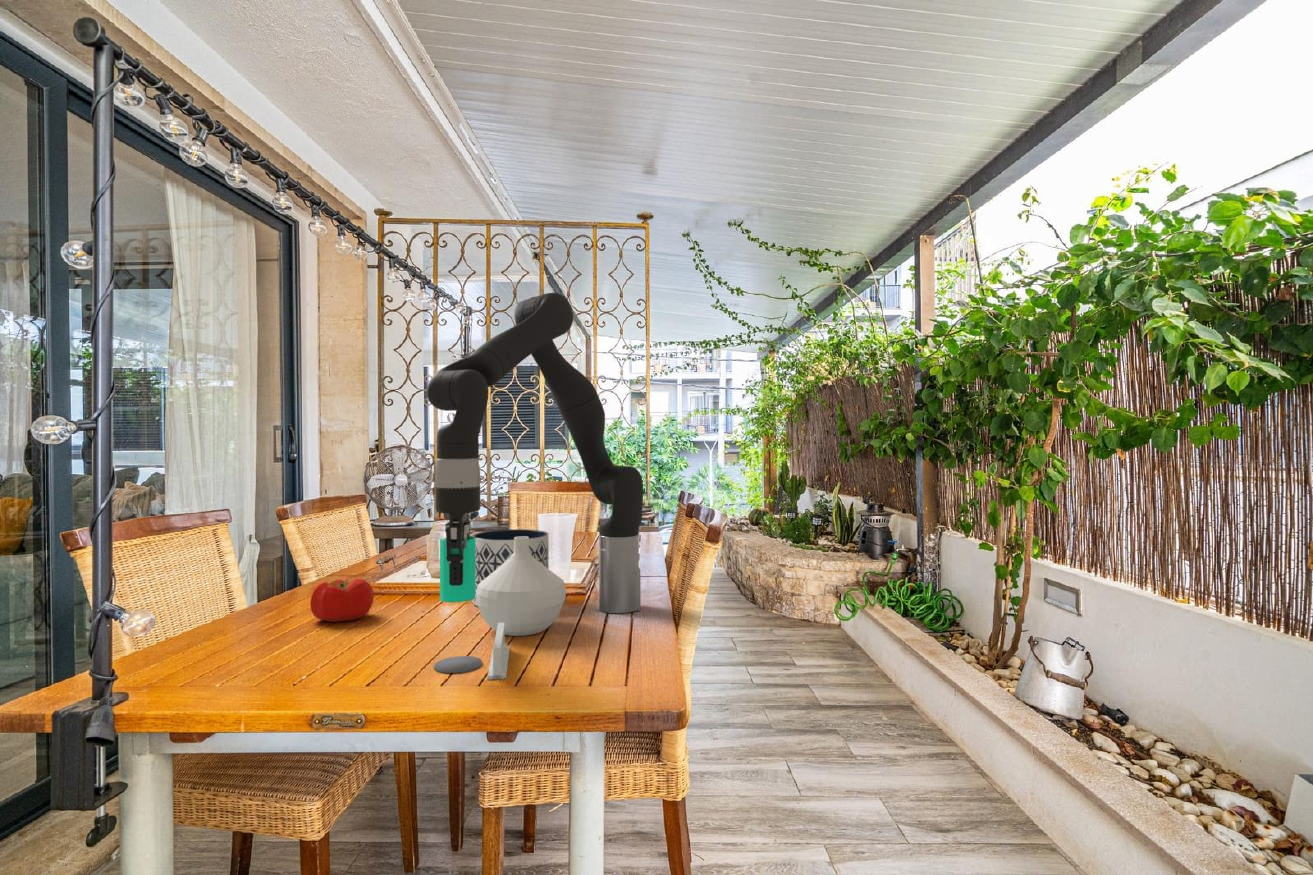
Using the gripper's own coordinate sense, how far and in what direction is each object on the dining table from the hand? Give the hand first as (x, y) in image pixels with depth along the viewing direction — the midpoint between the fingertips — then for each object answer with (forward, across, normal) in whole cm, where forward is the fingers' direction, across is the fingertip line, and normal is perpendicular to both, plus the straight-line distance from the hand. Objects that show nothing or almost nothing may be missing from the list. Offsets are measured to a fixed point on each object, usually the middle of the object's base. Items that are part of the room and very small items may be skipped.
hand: (458, 581), depth 118 cm
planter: (+15, +46, -7) cm, 49 cm away
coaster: (+15, 0, 0) cm, 15 cm away
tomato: (+15, +37, +29) cm, 49 cm away
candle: (+3, 0, 0) cm, 3 cm away
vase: (+15, +21, -10) cm, 28 cm away
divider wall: (+15, 0, -7) cm, 16 cm away
